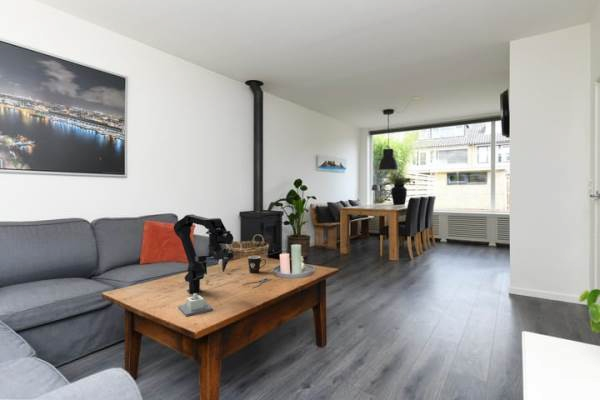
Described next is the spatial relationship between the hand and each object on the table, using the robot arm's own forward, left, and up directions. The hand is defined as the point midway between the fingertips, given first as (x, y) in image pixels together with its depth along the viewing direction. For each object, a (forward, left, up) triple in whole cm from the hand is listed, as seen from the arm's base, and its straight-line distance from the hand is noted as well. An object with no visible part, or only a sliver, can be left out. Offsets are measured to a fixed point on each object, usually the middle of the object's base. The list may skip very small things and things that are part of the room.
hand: (214, 273), depth 163 cm
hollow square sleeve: (+12, -14, -11) cm, 21 cm away
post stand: (+12, -14, -12) cm, 22 cm away
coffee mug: (-30, +40, -12) cm, 51 cm away
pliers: (-9, +29, -13) cm, 33 cm away
